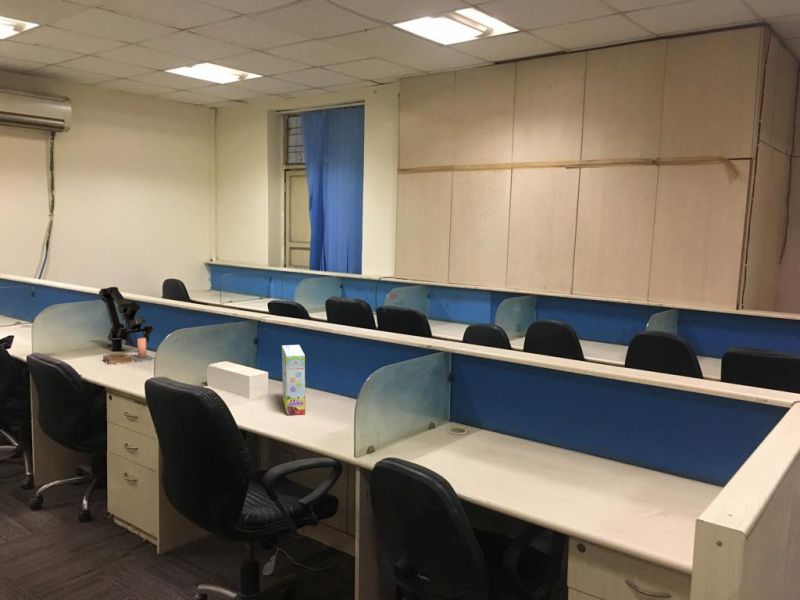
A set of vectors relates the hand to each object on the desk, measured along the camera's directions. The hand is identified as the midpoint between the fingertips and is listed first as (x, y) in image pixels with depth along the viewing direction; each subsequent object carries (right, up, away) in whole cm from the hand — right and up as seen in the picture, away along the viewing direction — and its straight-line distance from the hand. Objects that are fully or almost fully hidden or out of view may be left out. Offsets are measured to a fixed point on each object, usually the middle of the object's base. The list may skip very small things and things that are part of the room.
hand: (140, 343), depth 356 cm
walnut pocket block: (-10, -10, -8) cm, 16 cm away
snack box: (+100, -22, -83) cm, 132 cm away
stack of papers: (+69, -19, -57) cm, 92 cm away
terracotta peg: (+1, -8, 0) cm, 8 cm away
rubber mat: (+1, -9, 0) cm, 9 cm away
